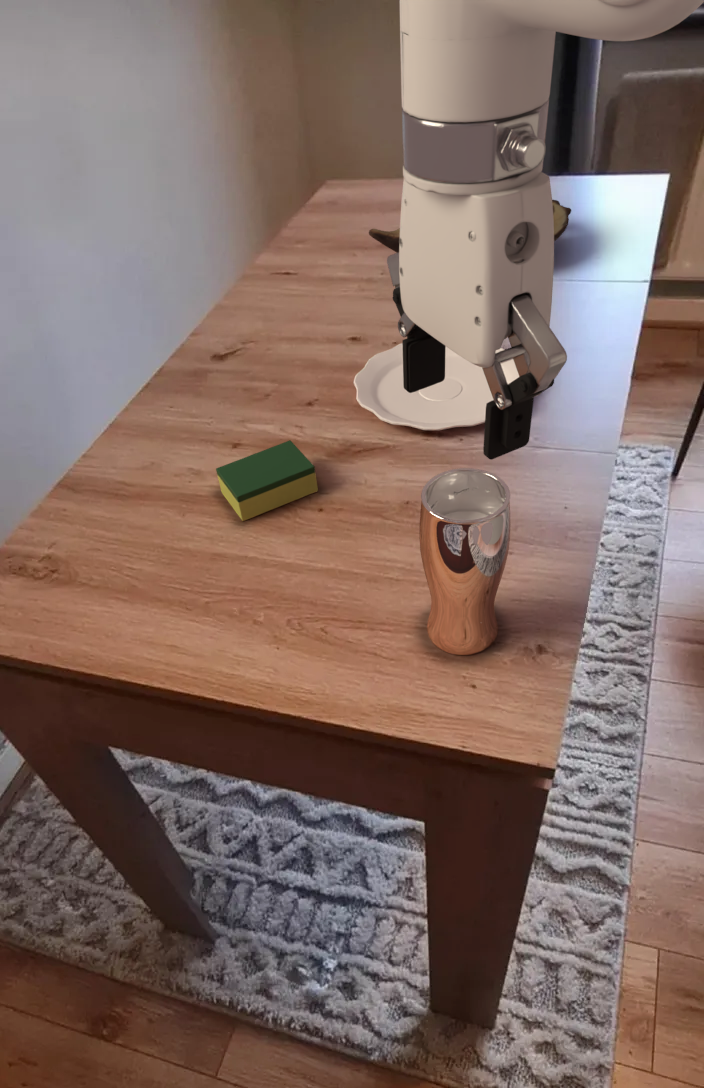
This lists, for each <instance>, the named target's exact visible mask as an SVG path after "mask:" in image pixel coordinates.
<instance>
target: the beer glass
mask: <svg viewBox="0 0 704 1088" xmlns="http://www.w3.org/2000/svg"><path fill="white" fill-rule="evenodd" d="M420 499H421V500H420V513H419V537H418V538H419V551H420V556H421V562H422V567H423V571H424V576H425V579H426V583H427V585H428V589H429V594H430V610H429V615H428V618H427V624H426V631H427V635H428V638H429V640H430V641H431V642H432V644H433V645H434V646H435V647H436V648H438V649H440V650H441V651H444V652H446V653H448V654H452V655H458V656H468V655H475V654H478V653H480V652H482V651H484V650H486V649H488V648H489V647H490V646H491V645H492V644H493V643H494V641H495V640H496V638H497V635H498V622H497V618H496V614H495V603H496V596H497V593H498V590H499V587H500V583H501V580H502V578H503V575H504V571H505V568H506V564H507V561H508V556H509V551H510V543H511V542H510V541H511V500H510V499H511V491H510V488H509V486H508V485H507V483H506V481H504V480H503V479H502V478H501V477H499V476H498V475H496V474H495V473H492V472H490V471H488V470H483V469H480V468H473V467H471V468H470V467H460V468H453V469H449V470H445V471H442V472H440V473H438V474H436V475H434V476H433V477H431V478H430V479H428V481H427V482H426V483H425V484H424V485H423V488H422V489H421V493H420Z"/></svg>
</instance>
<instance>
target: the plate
mask: <svg viewBox="0 0 704 1088" xmlns="http://www.w3.org/2000/svg"><path fill="white" fill-rule="evenodd" d="M503 350H505V349H504V348H503V347H501V348H500V349H499V350H496V352H495V353H498V352H500V351H503ZM501 367H502V369H503V372H504V375H505V378H506V381H507V384H509V383H511V382H512V381H514V380H515V379H517V378H518V377H519V374H518V371H517V368H516V365H515V363H514V360H513V359H512V360H509V361H507V362H504V363H501ZM353 385H354V387H355V389H356V397H355V399H356V401H357V403H358V405H360V407H361V408H363V409H365V410H367V411H368V412H371V413H372V414H373V415H375V416H376V417H377V418H378V420H380V421H382V422H385V423H388V424H390V425H395V426H406V427H410V428H411V427H412V428H415V429H418V430H422V431H442V430H447V429H452V428H460V427H462V428H463V427H474V426H477V425H481V424H485V414H486V403H489V402H490V401H493V397H492V394H491V391H490V388H489V386H488V383H487V380H486V377H485V374H484V371H483V369H482V367H479V366H477V365H474V364H472V363H471V362H469V361H467V360H465V359H464V358H462V357H461V356H459V355H458V354H456V353H455V352H454V351H452V350H451V349H449V348H448V347H446V348H445V379H444V380H443V381H442V382H440V383H437V384H434V385H432V386H429V387H426V388H424V389H421V390H418V391H416V392H412V393H409V392H408V391H406V390H405V389H404V385H403V343H402V342H400V343H399V344H397V345H395V346H393V347H391V348H389V349H387V350H384V351H381V352H378V353H376V354H374V355H373V356H372V357H370V358H369V359H367V362H366V363H365V365H364V366H363V368H361V370H359V371H358V372H357V373H356V374H355V376H354V379H353Z"/></svg>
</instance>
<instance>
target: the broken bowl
mask: <svg viewBox="0 0 704 1088" xmlns="http://www.w3.org/2000/svg"><path fill="white" fill-rule="evenodd" d="M552 205H553V220H554V242H556V241H557V240H558V239H559V238H560V237H561V236H562V235H563V234H564V232H565V231H566V230H567V228H568V227H569V226H568V225H569V223H570V222H569V221H570V219H569V216H570V215H571V213H572V209H571V208H570V207H568V206H564V205H562V204H561V203H560V201H559V200H557V199H552ZM368 235H369V236H370V237H371V238H372V239H374V240H376V241H377V242H378V243H380V244H381V245H383V246H384V247H386V248H388V249H389V250H391V251H393V252H395V253H398V252H399V243H400V227H399V228H398V229H395V230H390V231H388V230H381V229H377V228H370V229H369V230H368Z"/></svg>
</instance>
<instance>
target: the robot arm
mask: <svg viewBox="0 0 704 1088" xmlns="http://www.w3.org/2000/svg"><path fill="white" fill-rule="evenodd" d="M703 4H704V0H399V41H400V43H399V46H400V92H401V93H400V94H401V130H402V131H401V133H402V136H401V137H402V178H403V180H402V181H403V182H402V191H401V193H402V194H401V202H400V217H399V228H400V243H399V252H398V253H396V252H395V253H393V254H390V255H388V256H387V258H386V264H387V268H388V272H389V276H390V280H391V283H392V287H395V288H393V290H392V301H393V302H394V304H395V306H396V309H397V311H398V314H399V316H400V318H399V319H398V321H397V329H398V332H399V334H400V336H401V337H402V338H404V339H402V342H401V343H403V385H404V389H405V390H406V391H408V392H409V393H412V392H416V391H418V390H421V389H424V388H426V387H429V386H432V385H434V384H437V383H440V382H442V381H443V380H444V379H445V348H446V347H448V348H449V349H451V350H452V351H454V352H455V353H456V354H458V355H459V356H461V357H462V358H464V359H465V360H467V361H469V362H471V363H472V364H474V365H477V366H479V367H482V369H483V371H484V374H485V377H486V380H487V383H488V386H489V388H490V391H491V394H492V397H493V401H490V402H489V403H486V414H485V423H484V430H483V431H484V433H483V449H482V450H483V456H485V457H486V458H487V459H488V460H494V459H497V458H500V457H502V456H504V455H506V454H509V453H511V452H514V451H516V450H518V449H519V450H520V449H521V448H524V447H525V446H527V445H528V444H529V442H530V436H531V427H532V426H531V425H532V417H533V408H534V399H535V398H536V397H538V396H541V395H542V393H543V392H545V391H546V390H548V389H550V388H552V387H553V386H554V384H555V379H556V378H557V376H559V373H560V372H561V370H562V369H563V368H564V366H565V365H566V363H567V360H568V354H567V351H566V348H564V346H563V345H562V343H561V342H560V341H559V339H558V337H557V336H556V334H555V333H554V331H553V330H552V328H551V327H550V325H551V317H552V306H553V305H552V303H553V287H554V269H555V268H554V267H555V241H554V220H553V205H552V200H553V196H552V195H553V194H552V187H551V178H550V176H549V175H548V174H547V173H544V172H543V169H544V168H543V167H544V158H545V156H546V150H547V147H546V138H547V127H548V116H549V104H550V95H551V85H552V75H553V67H554V66H553V65H554V55H555V45H556V43H555V42H556V35H557V33H560V34H567V35H571V36H576V37H581V38H586V39H592V40H598V41H606V42H607V41H608V42H631V41H638V40H644V39H649V38H652V37H654V36H656V35H659V34H662V33H664V32H666V31H668V30H670V29H672V28H674V27H676V26H677V25H679V24H680V23H682V22H683V21H685V20H686V19H687V18H688V17H690V16H691V15H692V14H693V13H695V12H696V10H698V8H699V7H701V5H703ZM556 32H557V33H556ZM506 339H508V342H509V344H510V347H508V348H506V349H504V350H503V351H500V352H498V353H495V352H496V350H499V349H500V348H502V345H503V342H504V340H506ZM512 359H513V360H514V363H515V365H516V368H517V371H518V374H519V377H518V378H517V379H515V380H514V381H512V382H511V383H509V384H507V381H506V378H505V375H504V372H503V369H502V367H501V363H504V362H507V361H509V360H512Z"/></svg>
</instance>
